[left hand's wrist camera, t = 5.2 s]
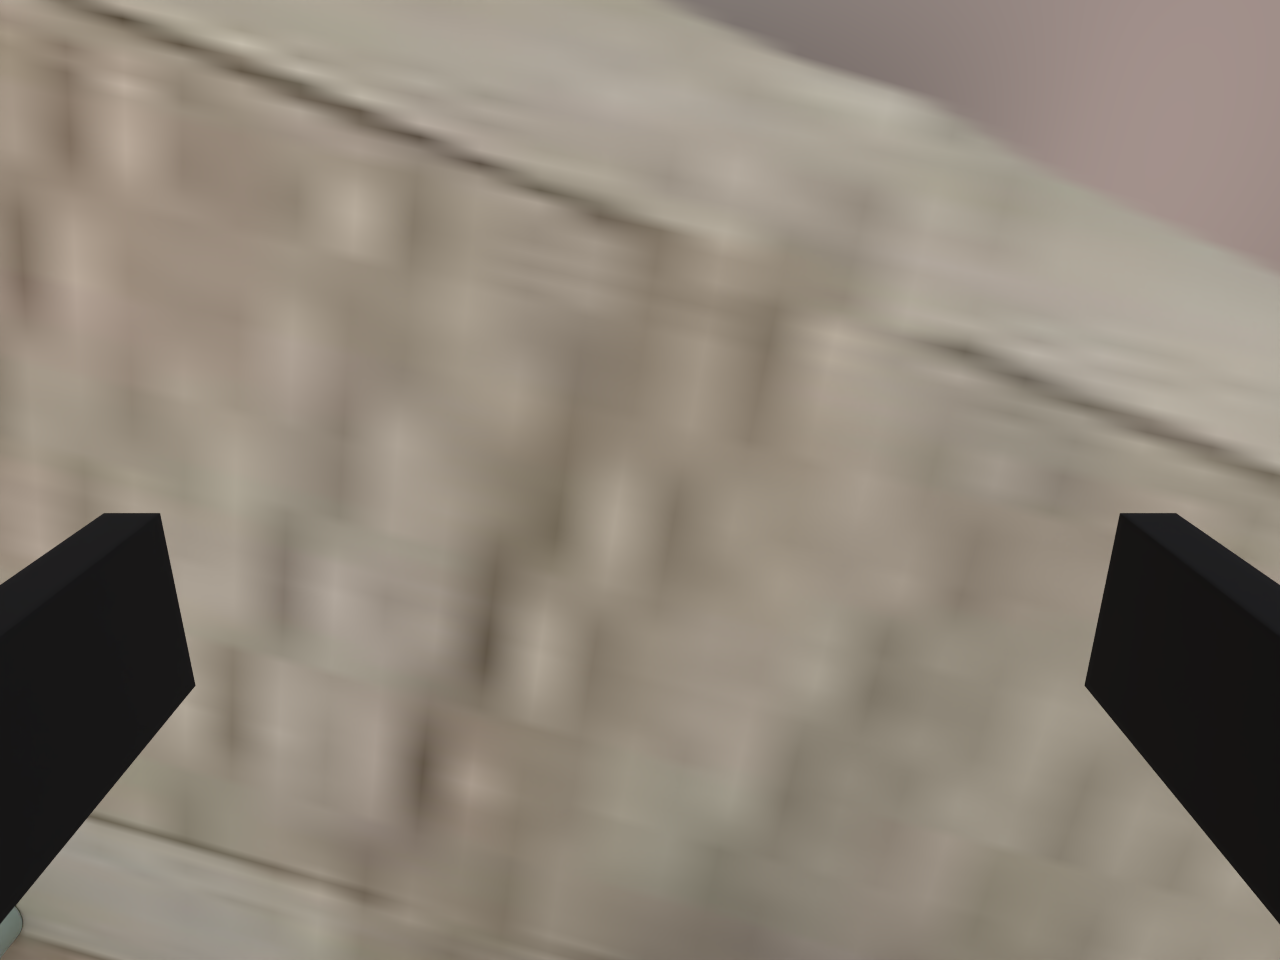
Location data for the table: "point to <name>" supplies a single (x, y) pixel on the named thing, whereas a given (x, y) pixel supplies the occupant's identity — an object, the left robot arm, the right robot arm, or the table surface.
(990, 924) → the table surface
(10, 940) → the bottle
